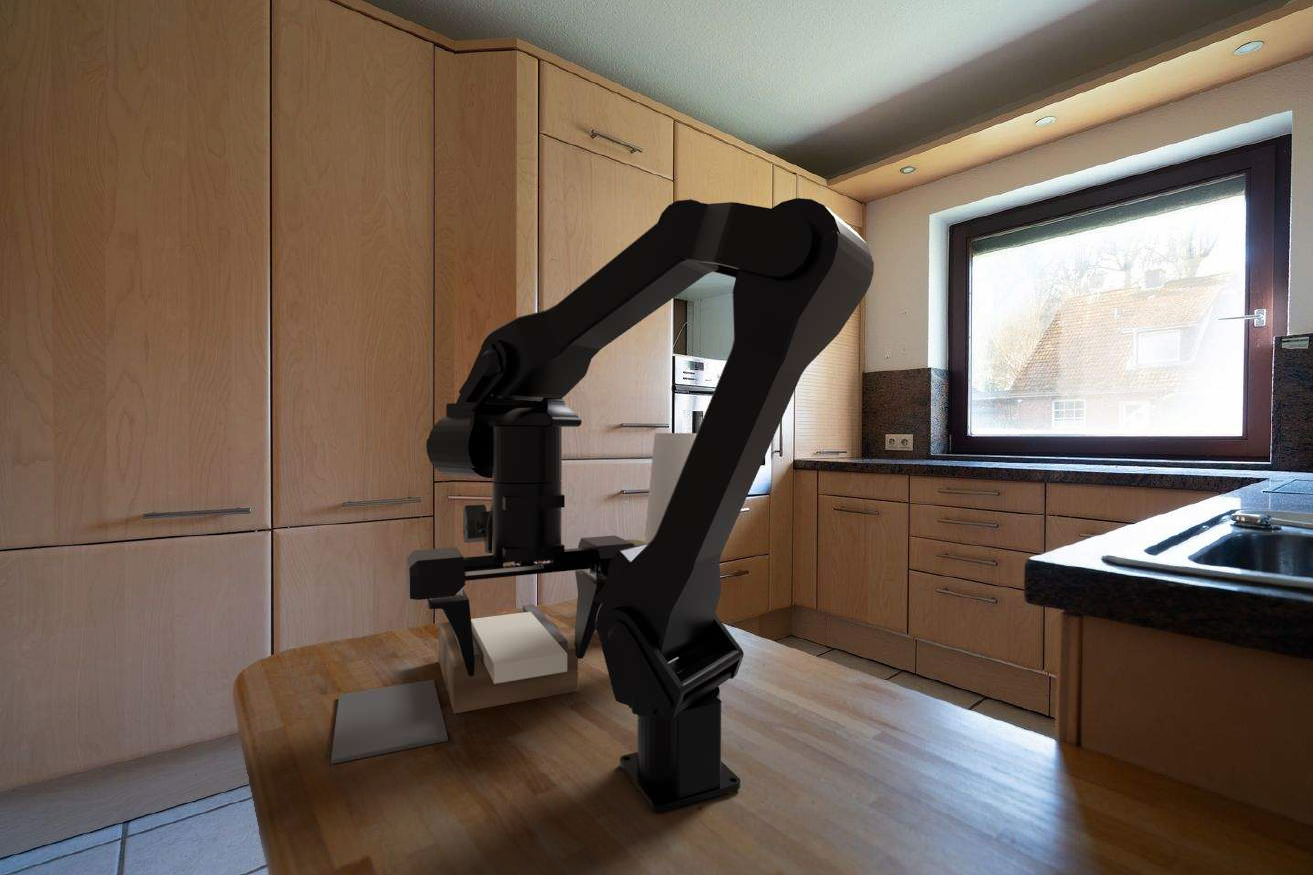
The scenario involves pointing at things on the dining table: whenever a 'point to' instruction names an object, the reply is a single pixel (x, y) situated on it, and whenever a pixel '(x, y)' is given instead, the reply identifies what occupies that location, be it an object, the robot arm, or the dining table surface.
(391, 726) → the mat
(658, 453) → the champagne flute
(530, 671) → the cover plate
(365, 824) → the dining table surface
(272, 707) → the dining table surface
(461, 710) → the lid box
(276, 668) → the dining table surface
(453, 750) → the dining table surface
